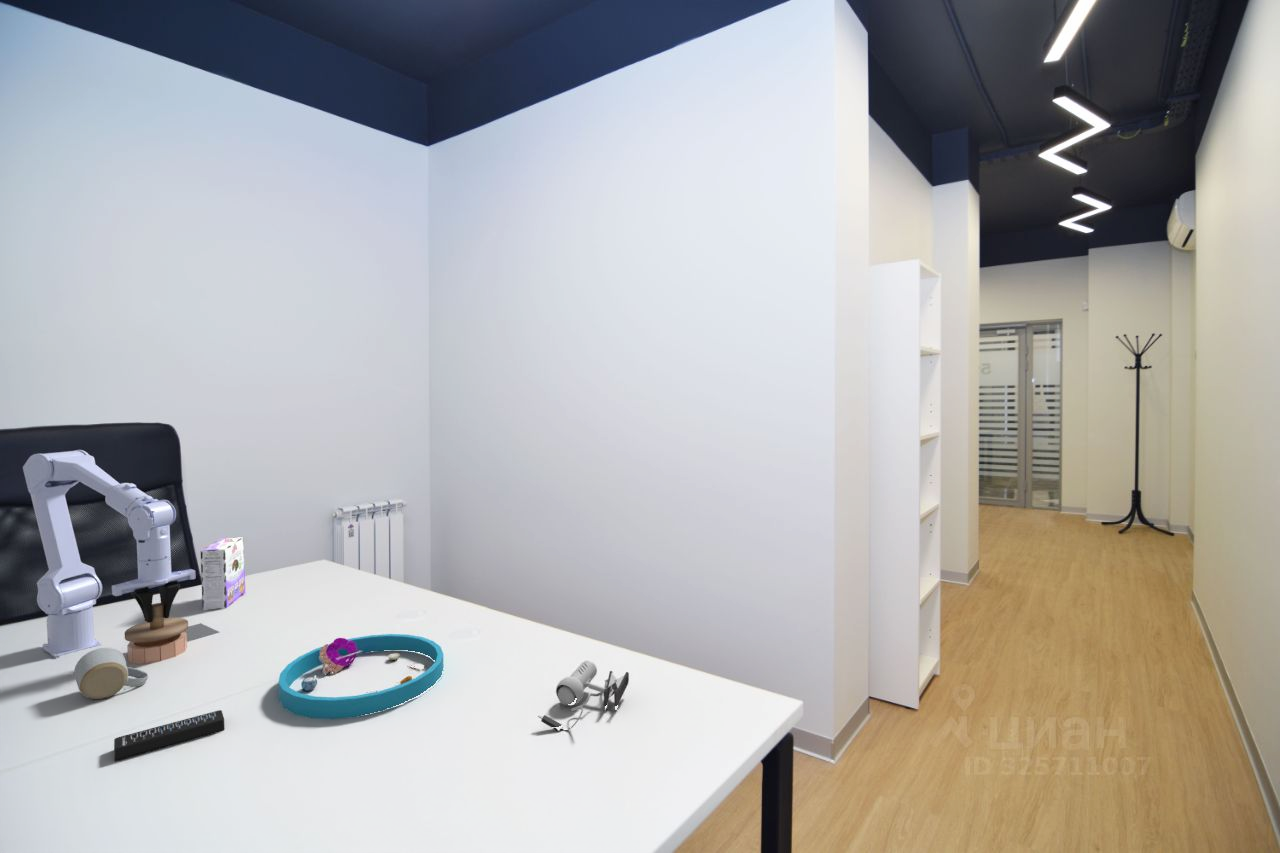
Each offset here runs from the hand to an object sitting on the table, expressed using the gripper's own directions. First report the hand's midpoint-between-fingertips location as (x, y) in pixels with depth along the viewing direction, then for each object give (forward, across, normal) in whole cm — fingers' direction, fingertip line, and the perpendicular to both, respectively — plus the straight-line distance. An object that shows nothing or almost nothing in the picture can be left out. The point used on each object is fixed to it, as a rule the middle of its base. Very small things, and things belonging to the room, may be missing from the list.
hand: (156, 619), depth 137 cm
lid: (+3, 0, 0) cm, 3 cm away
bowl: (+8, 0, 0) cm, 8 cm away
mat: (+8, +8, +7) cm, 13 cm away
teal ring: (+9, +18, -48) cm, 52 cm away
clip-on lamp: (+8, +33, -92) cm, 98 cm away
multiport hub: (+9, -12, -41) cm, 43 cm away
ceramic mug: (+8, -12, -11) cm, 18 cm away
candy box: (+8, +24, +25) cm, 36 cm away
